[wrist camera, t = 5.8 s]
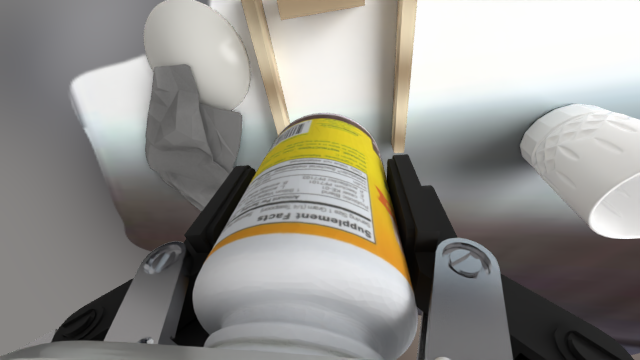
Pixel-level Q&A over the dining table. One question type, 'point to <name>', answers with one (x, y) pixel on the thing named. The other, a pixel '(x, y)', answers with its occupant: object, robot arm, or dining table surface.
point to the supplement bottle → (311, 253)
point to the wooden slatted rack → (302, 3)
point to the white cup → (590, 165)
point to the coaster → (199, 50)
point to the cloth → (189, 136)
